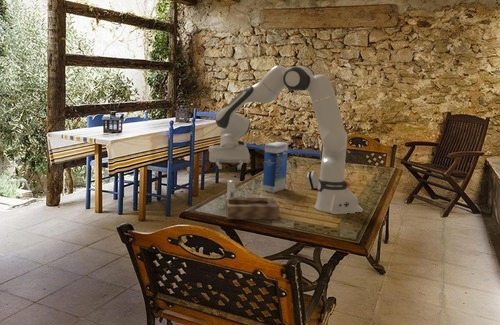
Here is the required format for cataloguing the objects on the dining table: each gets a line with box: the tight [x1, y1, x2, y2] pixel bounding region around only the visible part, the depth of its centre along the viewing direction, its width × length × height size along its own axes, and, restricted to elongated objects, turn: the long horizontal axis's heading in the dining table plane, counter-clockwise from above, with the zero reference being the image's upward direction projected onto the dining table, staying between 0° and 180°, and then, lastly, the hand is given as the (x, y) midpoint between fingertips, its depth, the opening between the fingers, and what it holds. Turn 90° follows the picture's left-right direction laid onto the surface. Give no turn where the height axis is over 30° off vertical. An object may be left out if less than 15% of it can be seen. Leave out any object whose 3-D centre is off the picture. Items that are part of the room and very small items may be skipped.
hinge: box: [306, 170, 320, 191], centre depth 248 cm, size 17×5×10 cm, turn 163°
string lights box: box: [262, 141, 289, 194], centre depth 234 cm, size 13×8×26 cm, turn 146°
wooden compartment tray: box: [224, 197, 280, 220], centre depth 189 cm, size 22×14×6 cm, turn 97°
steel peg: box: [226, 179, 236, 198], centre depth 200 cm, size 6×6×12 cm
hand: (229, 168), depth 210 cm, fingers open, 8 cm apart
